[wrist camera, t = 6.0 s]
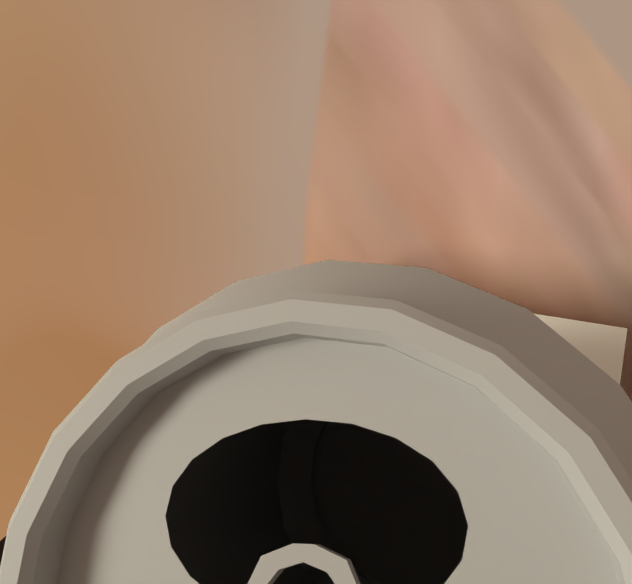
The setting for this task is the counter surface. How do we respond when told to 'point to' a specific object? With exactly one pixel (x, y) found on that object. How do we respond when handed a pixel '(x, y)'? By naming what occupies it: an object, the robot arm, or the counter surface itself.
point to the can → (337, 446)
